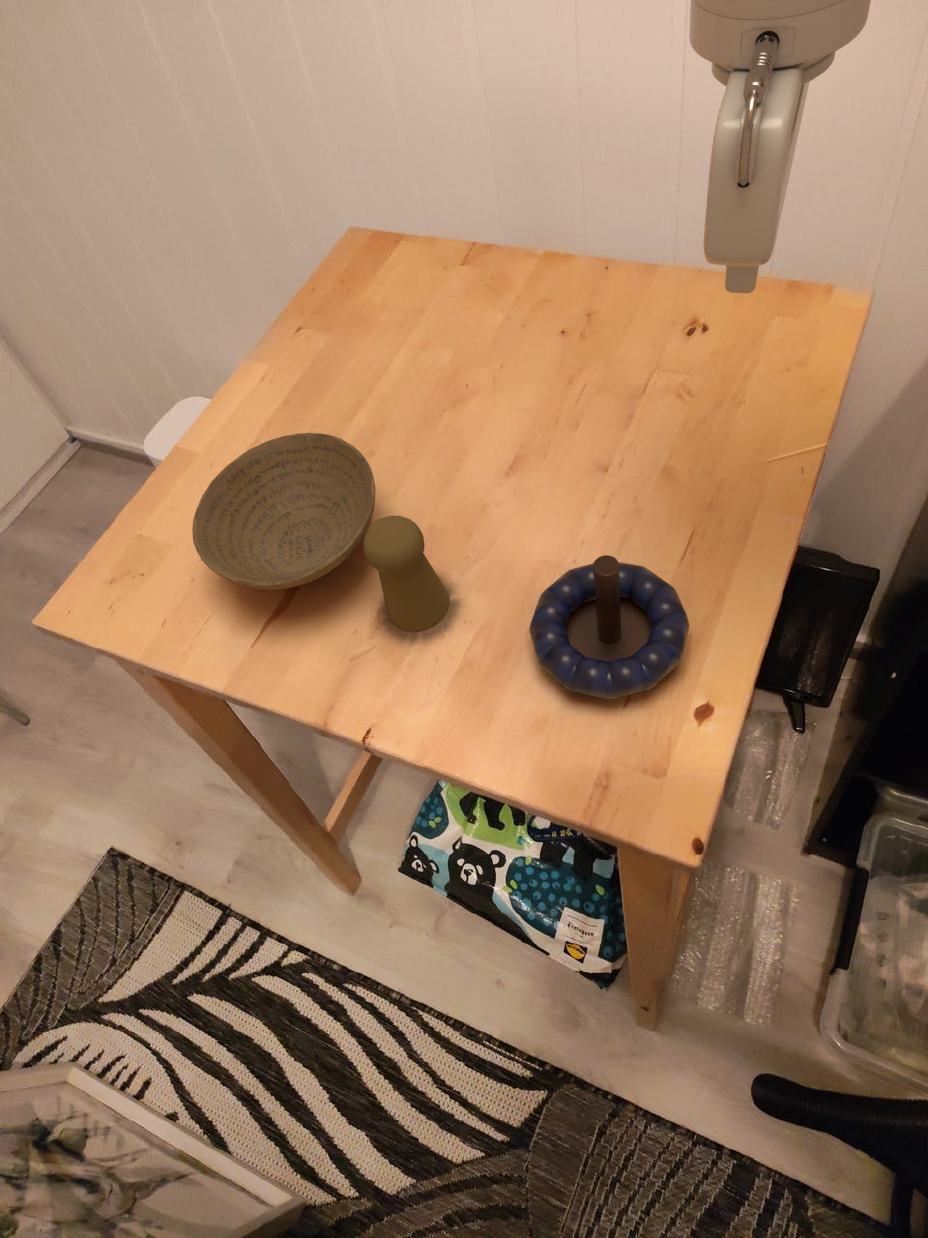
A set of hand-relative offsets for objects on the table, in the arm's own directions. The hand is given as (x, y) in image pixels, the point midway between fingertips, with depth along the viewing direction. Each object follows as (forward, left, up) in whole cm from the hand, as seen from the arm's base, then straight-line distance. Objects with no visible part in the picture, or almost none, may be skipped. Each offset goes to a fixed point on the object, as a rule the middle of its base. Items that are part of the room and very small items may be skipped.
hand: (752, 239), depth 53 cm
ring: (+13, +10, -26) cm, 31 cm away
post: (+13, +10, -28) cm, 33 cm away
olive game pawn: (+29, +1, -28) cm, 41 cm away
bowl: (+39, -9, -28) cm, 49 cm away
